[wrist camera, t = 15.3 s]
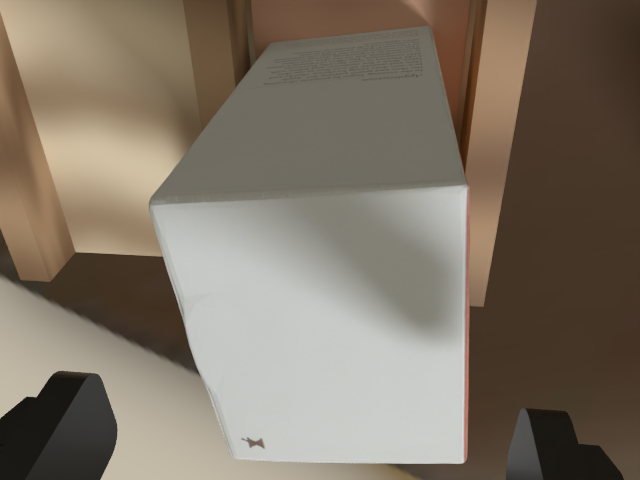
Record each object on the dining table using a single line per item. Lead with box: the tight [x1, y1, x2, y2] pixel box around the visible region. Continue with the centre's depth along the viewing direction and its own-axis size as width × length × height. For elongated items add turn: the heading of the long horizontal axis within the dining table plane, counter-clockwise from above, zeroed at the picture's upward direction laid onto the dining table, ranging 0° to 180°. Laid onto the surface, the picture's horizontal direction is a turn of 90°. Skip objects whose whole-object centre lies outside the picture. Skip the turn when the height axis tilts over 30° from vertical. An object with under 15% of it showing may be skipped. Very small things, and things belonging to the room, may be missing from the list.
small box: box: [148, 26, 470, 464], centre depth 18 cm, size 8×6×13 cm
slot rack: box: [0, 0, 537, 307], centre depth 23 cm, size 14×22×4 cm, turn 91°
